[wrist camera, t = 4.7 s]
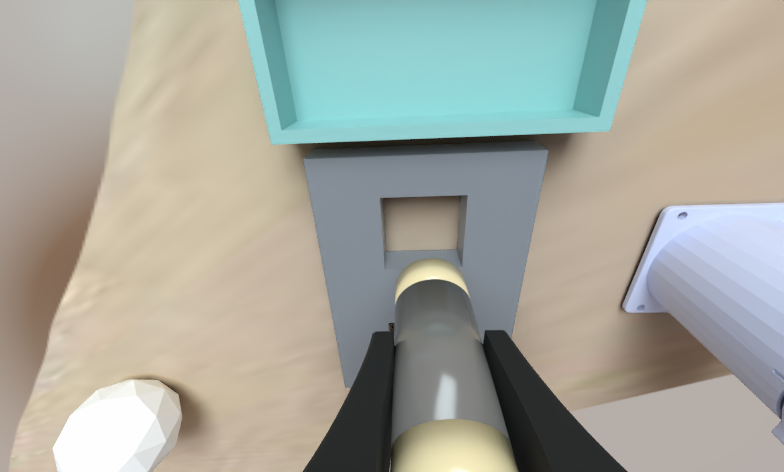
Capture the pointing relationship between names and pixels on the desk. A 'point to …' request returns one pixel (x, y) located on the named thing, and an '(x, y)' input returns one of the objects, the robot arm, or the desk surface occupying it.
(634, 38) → the tray
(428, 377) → the led light bulb
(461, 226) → the fuse block
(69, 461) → the geometric ball
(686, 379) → the desk surface
